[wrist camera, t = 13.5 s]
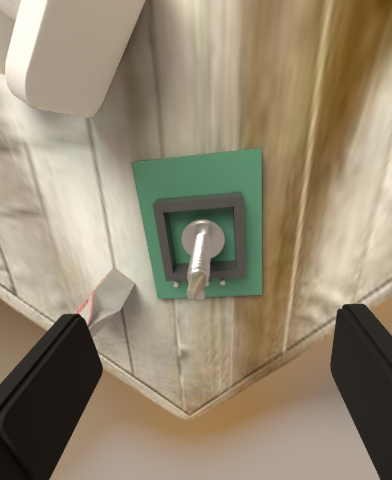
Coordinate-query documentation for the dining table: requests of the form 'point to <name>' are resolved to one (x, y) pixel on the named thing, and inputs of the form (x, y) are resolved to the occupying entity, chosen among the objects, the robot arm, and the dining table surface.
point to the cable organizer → (64, 50)
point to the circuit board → (203, 207)
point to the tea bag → (105, 300)
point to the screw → (201, 253)
